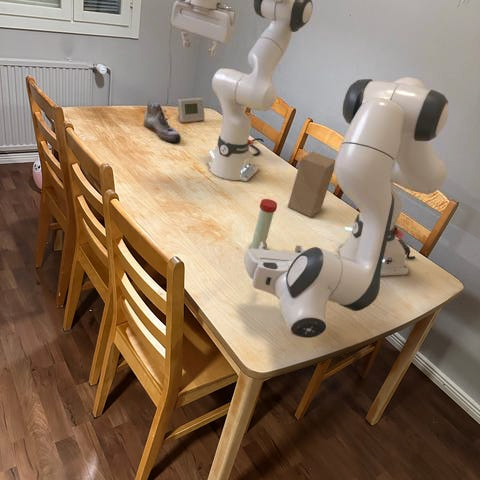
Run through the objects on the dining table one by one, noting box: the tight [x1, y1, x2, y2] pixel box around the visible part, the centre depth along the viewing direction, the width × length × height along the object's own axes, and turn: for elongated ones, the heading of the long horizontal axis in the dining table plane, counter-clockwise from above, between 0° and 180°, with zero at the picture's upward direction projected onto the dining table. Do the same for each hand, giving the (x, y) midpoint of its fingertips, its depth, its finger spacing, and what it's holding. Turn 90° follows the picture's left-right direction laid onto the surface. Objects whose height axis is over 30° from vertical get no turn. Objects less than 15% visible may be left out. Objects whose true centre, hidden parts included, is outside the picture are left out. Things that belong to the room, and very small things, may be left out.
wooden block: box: [287, 151, 336, 218], centre depth 160 cm, size 10×10×20 cm
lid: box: [259, 198, 278, 213], centre depth 128 cm, size 5×5×2 cm
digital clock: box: [177, 97, 206, 124], centre depth 221 cm, size 16×9×11 cm, turn 123°
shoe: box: [143, 101, 181, 144], centre depth 198 cm, size 25×11×12 cm, turn 30°
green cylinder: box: [250, 208, 275, 249], centre depth 132 cm, size 4×4×16 cm
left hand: (198, 51), depth 131 cm, fingers open, 8 cm apart
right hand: (280, 246), depth 112 cm, fingers open, 8 cm apart
